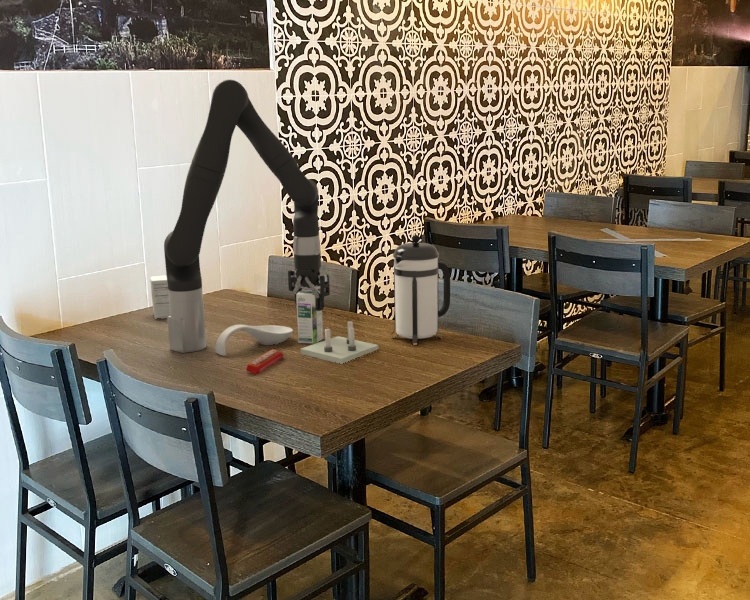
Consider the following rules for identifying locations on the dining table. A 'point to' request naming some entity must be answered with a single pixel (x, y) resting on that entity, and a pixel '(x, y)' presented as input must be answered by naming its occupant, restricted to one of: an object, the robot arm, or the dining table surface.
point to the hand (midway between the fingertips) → (309, 308)
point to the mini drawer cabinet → (160, 296)
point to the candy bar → (264, 361)
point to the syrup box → (308, 318)
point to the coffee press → (418, 290)
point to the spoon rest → (255, 335)
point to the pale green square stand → (339, 347)
